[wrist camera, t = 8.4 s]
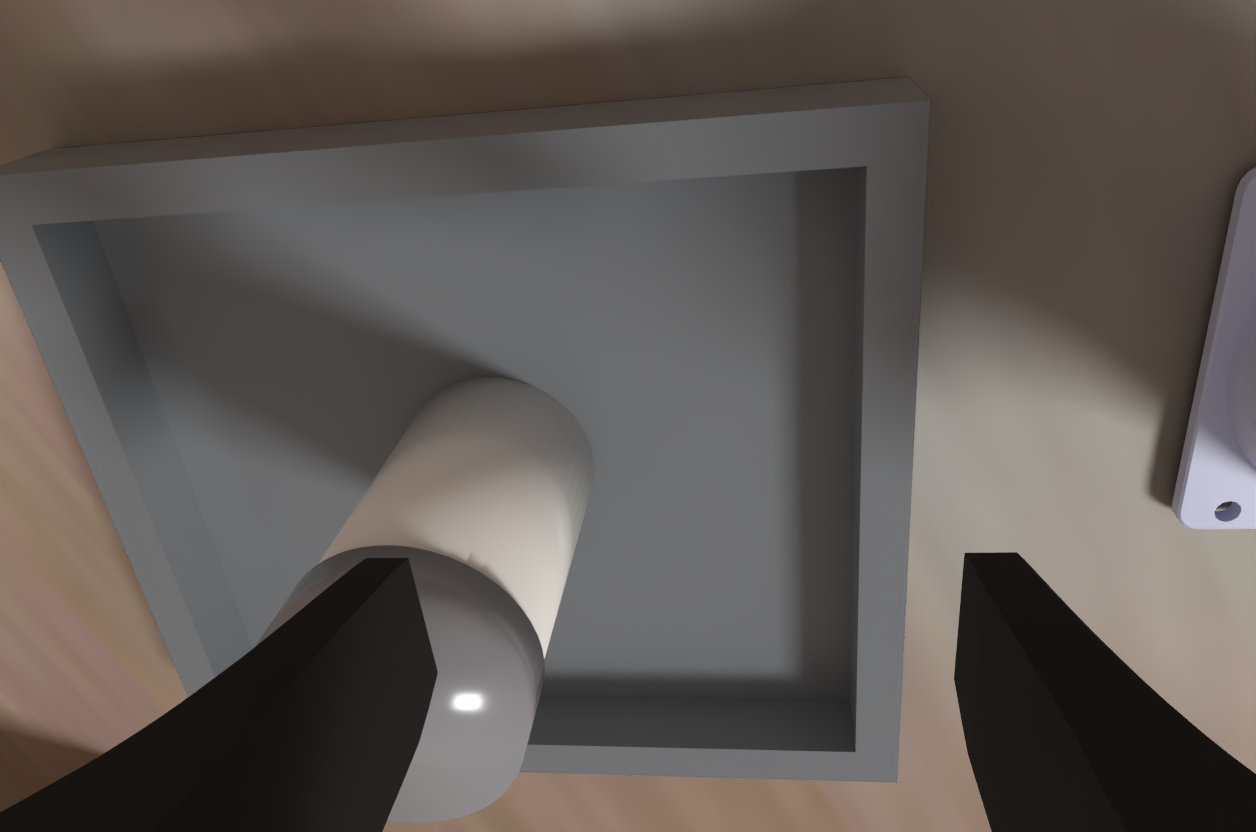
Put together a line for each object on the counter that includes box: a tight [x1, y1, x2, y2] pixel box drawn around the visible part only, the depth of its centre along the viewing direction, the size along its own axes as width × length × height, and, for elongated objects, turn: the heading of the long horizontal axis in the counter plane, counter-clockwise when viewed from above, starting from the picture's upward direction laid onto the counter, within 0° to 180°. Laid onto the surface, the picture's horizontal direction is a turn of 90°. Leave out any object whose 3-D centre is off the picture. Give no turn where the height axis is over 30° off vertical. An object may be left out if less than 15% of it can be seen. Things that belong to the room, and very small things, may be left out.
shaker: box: [255, 377, 594, 823], centre depth 18 cm, size 5×5×8 cm
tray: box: [0, 77, 931, 782], centre depth 21 cm, size 18×16×2 cm
